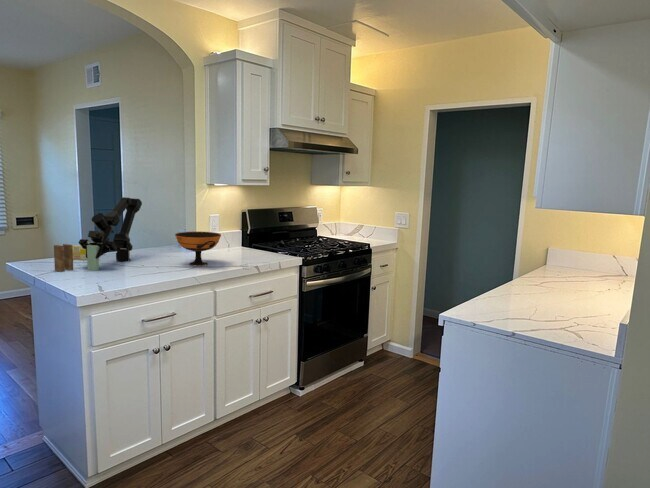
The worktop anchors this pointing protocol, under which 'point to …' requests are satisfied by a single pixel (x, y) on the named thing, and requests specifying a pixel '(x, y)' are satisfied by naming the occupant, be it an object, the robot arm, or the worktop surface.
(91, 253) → the green domino
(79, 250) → the candy box
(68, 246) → the walnut domino middle
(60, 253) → the walnut domino end
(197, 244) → the cup
